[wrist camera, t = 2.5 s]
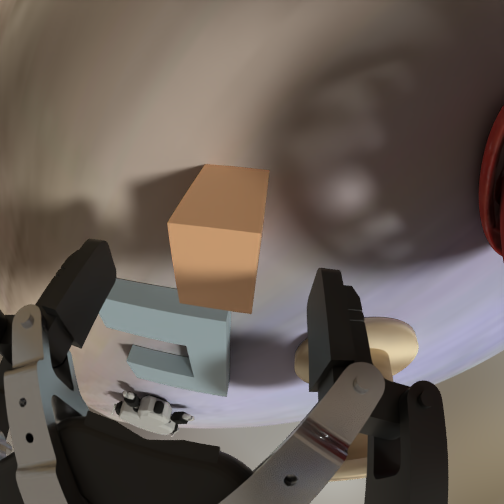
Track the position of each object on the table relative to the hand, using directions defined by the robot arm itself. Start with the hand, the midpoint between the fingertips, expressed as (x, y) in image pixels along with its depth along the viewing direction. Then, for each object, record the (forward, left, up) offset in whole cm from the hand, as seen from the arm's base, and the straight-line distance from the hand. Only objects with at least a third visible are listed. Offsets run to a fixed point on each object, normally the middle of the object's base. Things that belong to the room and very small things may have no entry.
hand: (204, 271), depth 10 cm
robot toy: (+39, -13, -5) cm, 41 cm away
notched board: (+14, -5, -5) cm, 15 cm away
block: (0, 0, -5) cm, 5 cm away
